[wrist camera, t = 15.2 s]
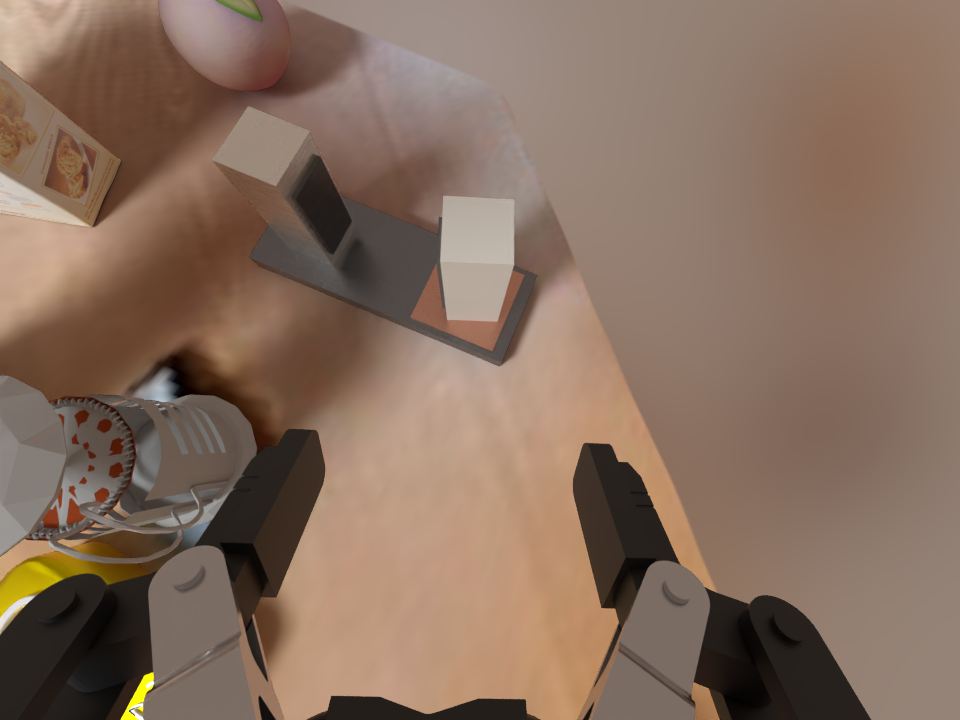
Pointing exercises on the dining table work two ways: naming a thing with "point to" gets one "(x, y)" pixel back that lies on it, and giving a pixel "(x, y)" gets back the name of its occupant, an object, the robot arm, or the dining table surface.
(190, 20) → the decorative fruit
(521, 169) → the dining table surface
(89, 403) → the french press
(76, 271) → the dining table surface
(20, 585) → the element tile
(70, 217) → the coffeecake box
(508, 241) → the block
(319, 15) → the dining table surface
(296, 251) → the grey stand
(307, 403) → the dining table surface
